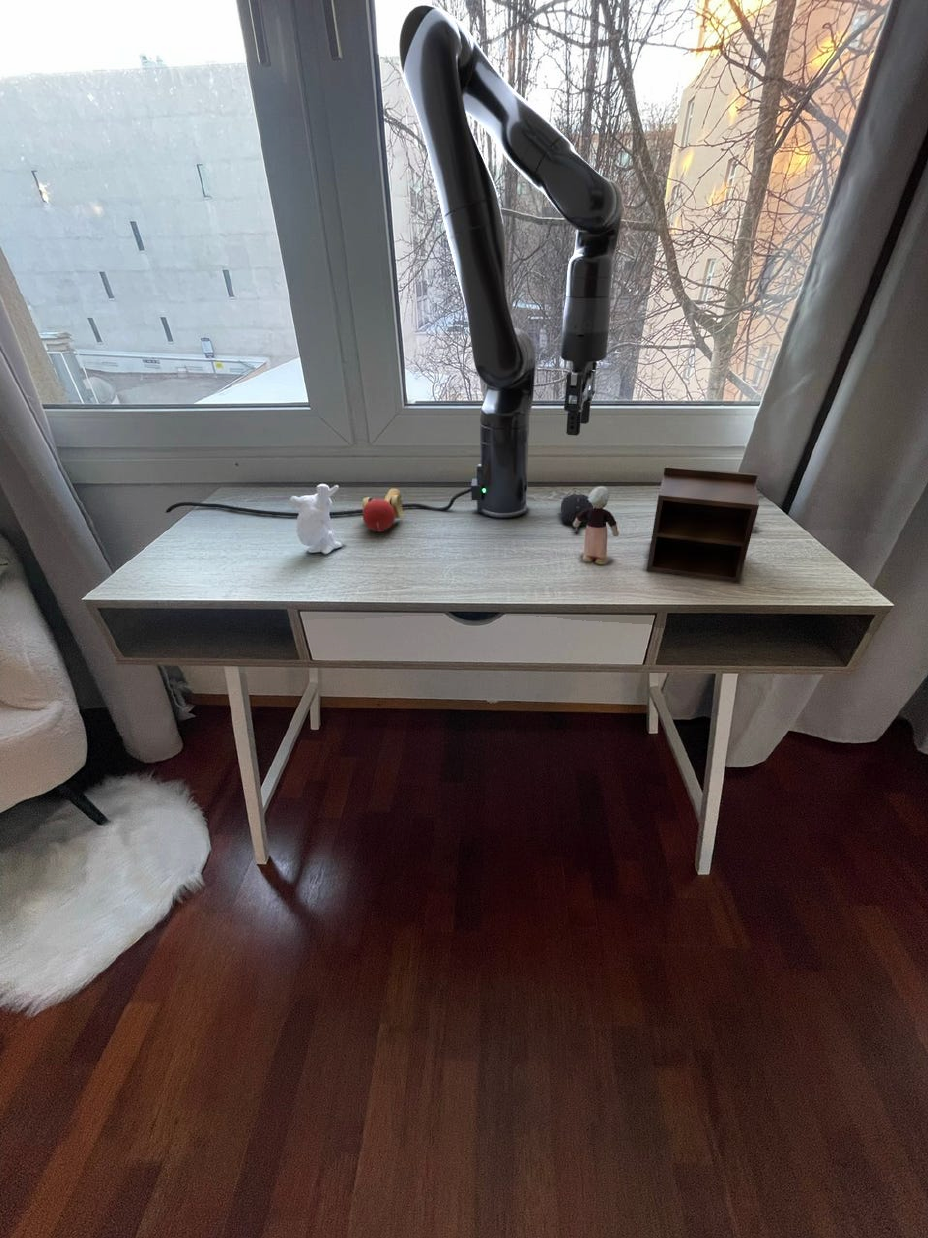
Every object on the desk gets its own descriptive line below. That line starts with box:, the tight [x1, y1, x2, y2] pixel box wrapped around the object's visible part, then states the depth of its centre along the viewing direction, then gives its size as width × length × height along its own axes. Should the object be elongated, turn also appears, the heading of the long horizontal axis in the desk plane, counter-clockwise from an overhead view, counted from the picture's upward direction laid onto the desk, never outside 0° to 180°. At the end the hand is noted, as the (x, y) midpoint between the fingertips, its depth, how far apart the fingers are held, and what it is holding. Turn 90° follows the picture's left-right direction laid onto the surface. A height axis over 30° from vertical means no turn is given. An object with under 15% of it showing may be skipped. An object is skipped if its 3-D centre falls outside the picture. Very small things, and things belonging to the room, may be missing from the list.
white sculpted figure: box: [289, 483, 343, 555], centre depth 102 cm, size 8×7×12 cm
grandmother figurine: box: [572, 485, 620, 565], centre depth 97 cm, size 8×4×13 cm, turn 71°
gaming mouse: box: [560, 493, 594, 535], centre depth 114 cm, size 6×15×4 cm, turn 171°
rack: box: [646, 465, 760, 584], centre depth 95 cm, size 14×11×14 cm
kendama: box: [362, 487, 404, 533], centre depth 116 cm, size 8×6×18 cm
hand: (577, 428), depth 105 cm, fingers open, 8 cm apart
